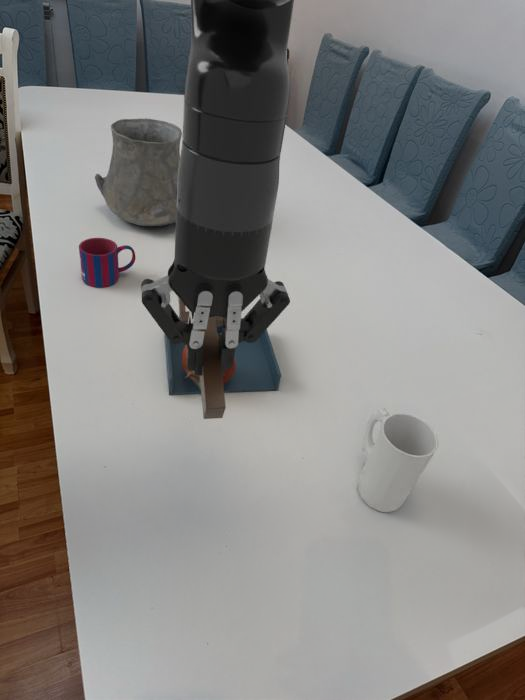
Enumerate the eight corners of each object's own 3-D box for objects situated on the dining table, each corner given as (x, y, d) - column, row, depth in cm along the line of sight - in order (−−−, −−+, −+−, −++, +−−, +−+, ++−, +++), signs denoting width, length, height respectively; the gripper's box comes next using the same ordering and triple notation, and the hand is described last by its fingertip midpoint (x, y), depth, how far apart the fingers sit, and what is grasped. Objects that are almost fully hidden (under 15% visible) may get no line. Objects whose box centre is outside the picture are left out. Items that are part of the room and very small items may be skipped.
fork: (239, 417, 48) (244, 406, 46) (185, 420, 46) (187, 409, 44) (222, 281, 56) (225, 268, 54) (175, 281, 54) (177, 267, 52)
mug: (415, 507, 66) (450, 449, 58) (373, 521, 63) (403, 463, 55) (374, 448, 72) (401, 390, 65) (335, 458, 70) (357, 399, 62)
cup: (80, 269, 96) (77, 238, 92) (133, 267, 100) (132, 236, 95) (83, 288, 92) (80, 256, 87) (138, 285, 95) (138, 254, 91)
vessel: (110, 244, 105) (105, 148, 92) (92, 199, 120) (85, 111, 107) (208, 237, 113) (215, 148, 101) (179, 195, 128) (182, 113, 115)
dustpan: (278, 390, 79) (281, 375, 76) (168, 395, 74) (169, 378, 72) (250, 300, 96) (253, 286, 94) (161, 300, 92) (161, 285, 90)
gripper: (133, 224, 34) (137, 400, 45) (323, 232, 37) (283, 394, 48) (133, 179, 39) (137, 346, 50) (298, 190, 43) (268, 344, 54)
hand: (209, 369), depth 49 cm, fingers closed on fork, 2 cm apart
